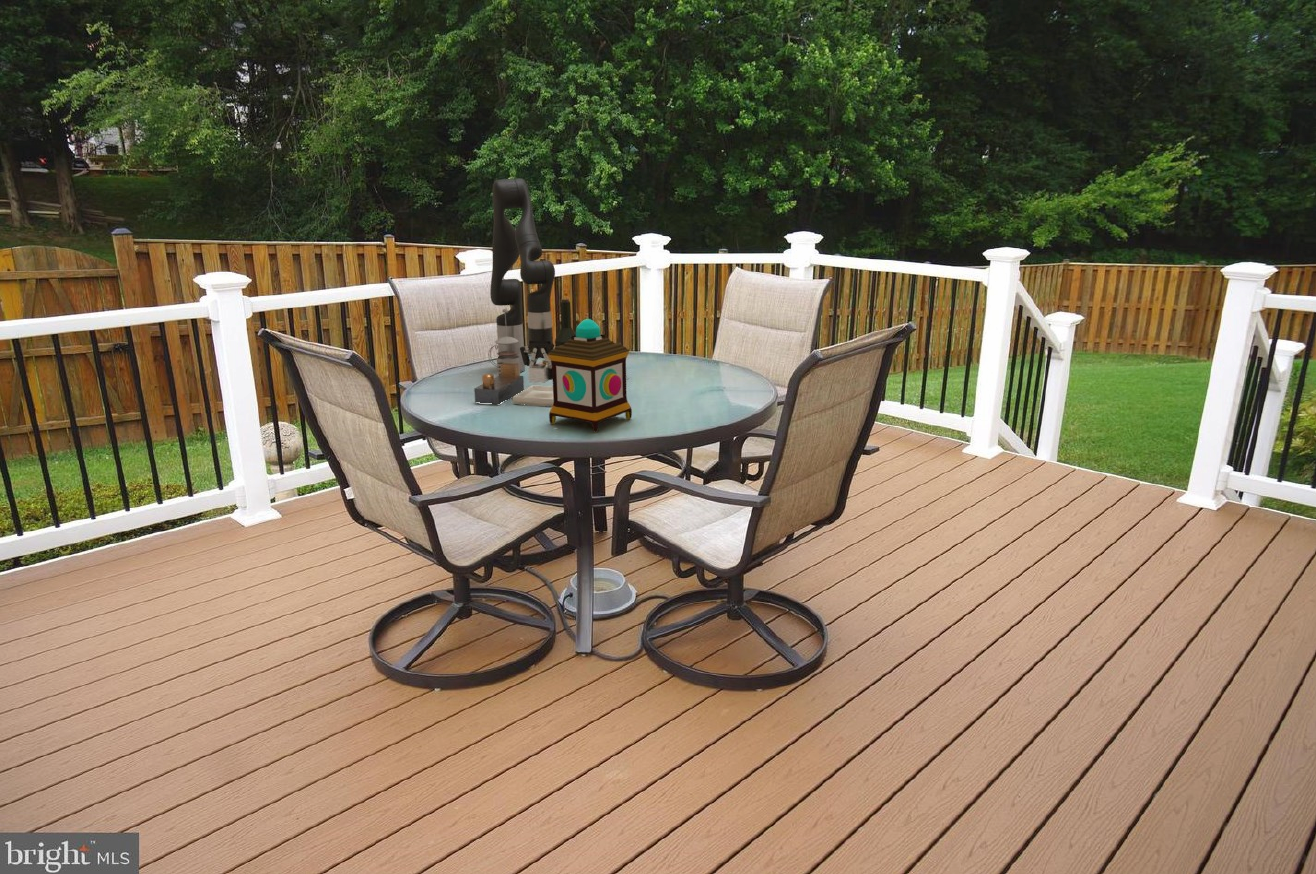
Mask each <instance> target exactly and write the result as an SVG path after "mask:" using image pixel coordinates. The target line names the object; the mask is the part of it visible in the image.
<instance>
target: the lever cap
mask: <svg viewBox="0 0 1316 874" xmlns="http://www.w3.org/2000/svg"><path fill="white" fill-rule="evenodd" d="M548 369H549V367H548V364H547V362H546V361H545V359H542V361H539V362H538V363H537V362H536V364H535V365H533V366H532V367H528V380H529V381H528V382H529V383H536V384H539V383H540V384H545V383H546V382H549V381H550V380H549V371H548Z"/></svg>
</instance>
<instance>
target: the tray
mask: <svg viewBox="0 0 1316 874" xmlns="http://www.w3.org/2000/svg"><path fill="white" fill-rule="evenodd" d="M512 402H513V403H512V404H522V405H521V406H529V405H535V406H534V407H545V406H547V408H552V406H553V402H554V399H553V385H538V384H536V385H535V384H532V385H531V386H529V387H526V388H524V391H522V392H520V393H519V394H517V395H515V396H513V397H512ZM524 404H525V405H524Z"/></svg>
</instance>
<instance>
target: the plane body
mask: <svg viewBox="0 0 1316 874" xmlns="http://www.w3.org/2000/svg"><path fill="white" fill-rule="evenodd" d="M481 377H482V379H481V380H482V384H480V385H479V386H476V387H474V389H473V392H474V402H480V403H492V404H500V403H501V402H503V401H505V400H507V401H509V400H510V398H511V397H512V398H513V396H515V395H516V394H518V393H520V392H521V391H523V390H525V385H524V383H525V382H524V375H520V376H519V366H518V364H513V363H504V364H502V365H501V375H499V376H495V374H493V373H486V374H482V375H481ZM512 398H511V399H512ZM508 399H509V400H508ZM500 405H501V404H500Z"/></svg>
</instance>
